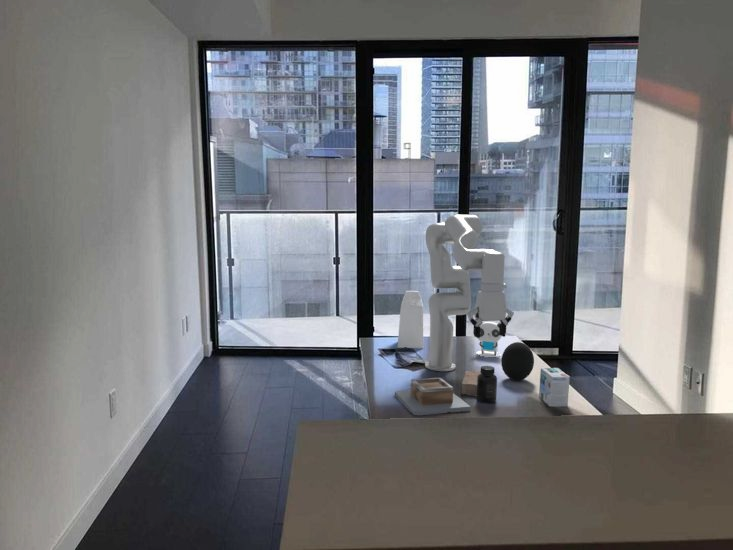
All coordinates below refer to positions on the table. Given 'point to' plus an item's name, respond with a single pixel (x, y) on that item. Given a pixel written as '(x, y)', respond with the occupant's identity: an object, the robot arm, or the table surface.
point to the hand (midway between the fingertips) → (489, 336)
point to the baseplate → (420, 409)
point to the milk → (411, 321)
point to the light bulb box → (554, 387)
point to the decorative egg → (517, 361)
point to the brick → (470, 383)
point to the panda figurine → (489, 339)
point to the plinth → (431, 391)
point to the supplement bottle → (486, 385)
